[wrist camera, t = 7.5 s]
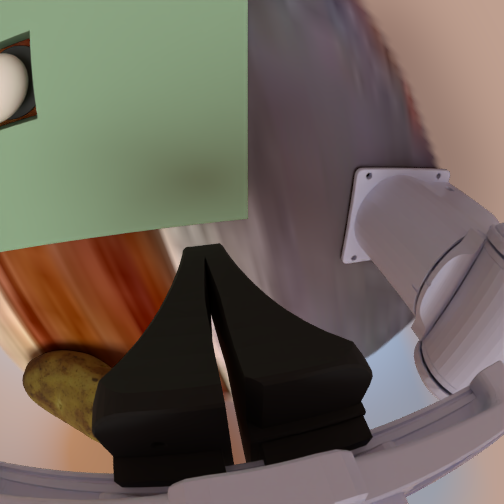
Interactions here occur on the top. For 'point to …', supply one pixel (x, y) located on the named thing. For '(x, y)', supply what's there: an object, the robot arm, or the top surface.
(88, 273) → the top surface
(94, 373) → the potato
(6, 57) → the ball
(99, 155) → the putting mat
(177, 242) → the top surface
